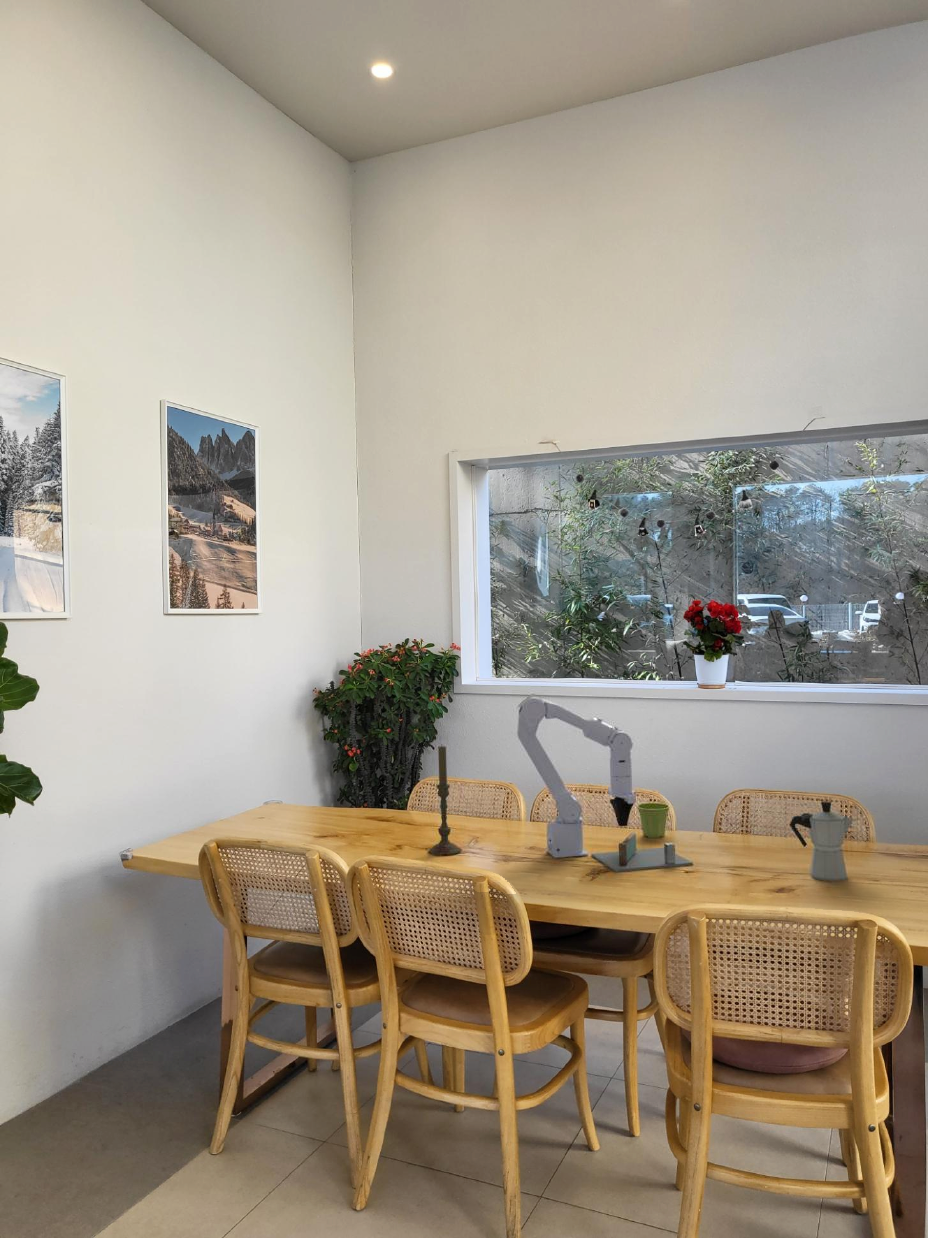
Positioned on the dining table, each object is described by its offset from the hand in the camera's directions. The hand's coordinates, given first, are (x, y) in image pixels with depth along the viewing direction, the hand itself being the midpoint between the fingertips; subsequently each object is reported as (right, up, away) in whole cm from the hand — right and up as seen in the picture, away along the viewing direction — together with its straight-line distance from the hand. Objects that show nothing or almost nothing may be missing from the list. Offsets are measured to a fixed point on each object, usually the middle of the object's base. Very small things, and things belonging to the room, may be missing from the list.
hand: (622, 825), depth 254 cm
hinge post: (-2, -7, -15) cm, 17 cm away
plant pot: (+12, -7, +19) cm, 23 cm away
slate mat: (+3, -7, -9) cm, 12 cm away
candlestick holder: (-48, -9, +6) cm, 49 cm away
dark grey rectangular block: (+10, -7, -15) cm, 19 cm away
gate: (0, -6, -9) cm, 11 cm away
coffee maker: (+44, -6, -29) cm, 52 cm away
